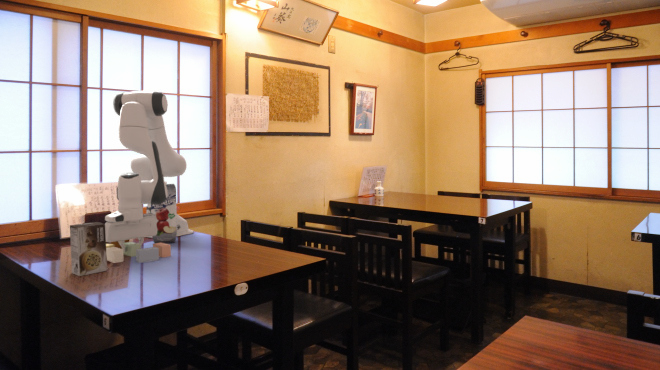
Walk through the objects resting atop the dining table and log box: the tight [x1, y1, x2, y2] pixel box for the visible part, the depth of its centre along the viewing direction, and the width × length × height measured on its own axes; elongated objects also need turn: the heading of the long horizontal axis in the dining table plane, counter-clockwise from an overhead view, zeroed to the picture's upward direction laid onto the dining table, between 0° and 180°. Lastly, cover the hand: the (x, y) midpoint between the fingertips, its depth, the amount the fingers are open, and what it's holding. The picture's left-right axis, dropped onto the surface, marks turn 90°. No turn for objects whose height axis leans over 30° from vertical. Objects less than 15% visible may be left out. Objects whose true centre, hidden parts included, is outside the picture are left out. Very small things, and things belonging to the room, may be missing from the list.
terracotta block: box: [152, 243, 172, 258], centre depth 181 cm, size 4×7×4 cm, turn 49°
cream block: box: [106, 247, 124, 264], centre depth 172 cm, size 4×7×4 cm, turn 47°
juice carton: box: [151, 181, 178, 244], centre depth 207 cm, size 9×10×27 cm
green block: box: [123, 241, 140, 258], centre depth 182 cm, size 4×7×4 cm, turn 49°
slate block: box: [135, 246, 160, 264], centre depth 172 cm, size 4×7×4 cm, turn 129°
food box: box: [69, 221, 108, 277], centre depth 155 cm, size 9×6×16 cm
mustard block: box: [106, 243, 114, 248], centre depth 180 cm, size 4×7×4 cm, turn 67°
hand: (131, 250), depth 182 cm, fingers open, 4 cm apart
